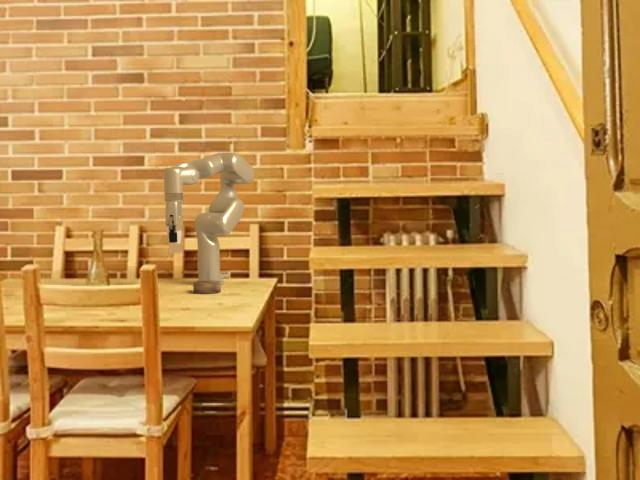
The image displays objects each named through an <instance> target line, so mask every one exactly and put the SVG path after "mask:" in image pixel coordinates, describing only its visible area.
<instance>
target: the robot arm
mask: <svg viewBox="0 0 640 480" xmlns="http://www.w3.org/2000/svg"><path fill="white" fill-rule="evenodd" d="M218 174H219V184H220V190H219V192H218V194H217V195H216V196H215V197H214V199H212V202H211V203H210V204H209V206H208V212H202V213H201V212H200V213H199V214H198V215H197V216H196V217H195V219H194V228H195V234H196V240H197V241H196V242H197V243H196V244H197V273H198V274H197V275H198V280H196V281H195V282H197V281H207V280H213V281H220V286H222V285H224V284H225V281H224V280H223V279H228V278H229V276H230V275H229V273H222V272H221V260H220V259H221V255H220V254H221V253H220V250H221V249H220V241H219V239H218V237H217V235H218V236H223V235H224V236H225V235H229V234H230V233H232V232H233V230H234V229H235V227H236V226H237V224H238V223H239V222H240V220H241V218H243V215H244V212H245V211H244V210H245V205H244V202H243V200H242V199H240V198H238V197H239V195H238V192H237V190H236V188H235V185H250V184H252V183H253V182H254V180H255V176H256V175H255V169H254V168H253V167H252V165H250V164H249V162H247V161H246V160H245V158H243V157H242V156H241V154H239V153H236V152H218V153H217V152H216V153H214V154H211V155H209V156H206V157H203V158H200V159H194V160H192V161H187V162H183V163H179V164H176V165H173V166H170V167H166V168H164V169H163V187H164V192H163V193H164V203H165V202H166V203H165V226H168V223H169V240H168V243H169V242H170V243H176V242H177V233H176V226H177V225H178V222H179V216H183V208H182V207H183V206H182V202H184V186H193V185H195V184H197V183H198V182H199V180H201V179H207V178H211V177H212V176H215V175H218ZM173 220H174V222H175V225H173Z"/></svg>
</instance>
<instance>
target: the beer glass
mask: <svg viewBox="0 0 640 480" xmlns="http://www.w3.org/2000/svg"><path fill="white" fill-rule="evenodd" d="M173 225H175V222H174V220H173ZM165 226H166V225H165ZM184 227H185V226H184V216H183V215H182V216H179V222H178V225H177V226H176V233H177V242H176V243H170V242H169V223H168V226H166V229H165V230H166V236H167V238H168V239H167V240H168V254H183V253H184V248H183V239H184V238H183V237H184V229H185V228H184Z"/></svg>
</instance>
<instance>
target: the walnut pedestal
mask: <svg viewBox="0 0 640 480" xmlns="http://www.w3.org/2000/svg"><path fill="white" fill-rule="evenodd" d="M196 281H197V282H196ZM196 281H193V285H192V287H193V294H195V295H213V294H219V293H221V285H220V281H213V280H207V281H198V280H196Z"/></svg>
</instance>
